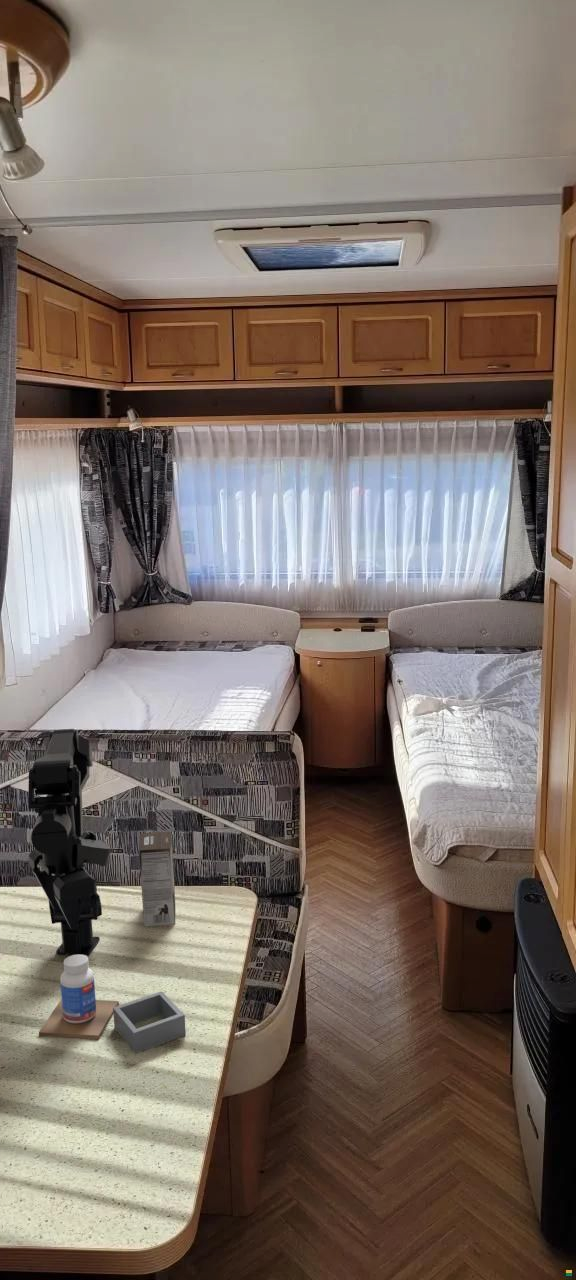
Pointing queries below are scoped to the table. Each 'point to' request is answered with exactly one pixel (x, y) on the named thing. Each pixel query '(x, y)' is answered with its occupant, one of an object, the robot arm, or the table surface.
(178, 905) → the table surface
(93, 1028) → the walnut coaster
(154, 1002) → the holder box
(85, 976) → the pill bottle
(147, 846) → the coffee box
